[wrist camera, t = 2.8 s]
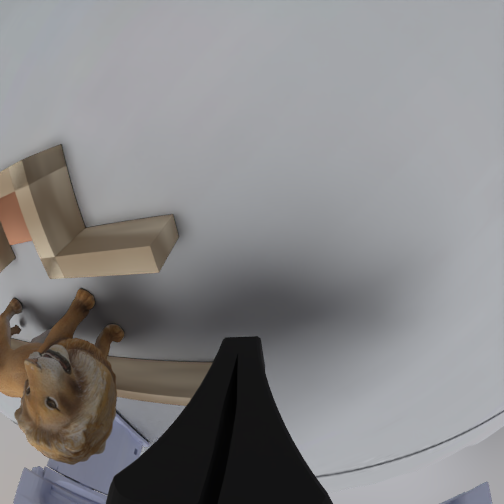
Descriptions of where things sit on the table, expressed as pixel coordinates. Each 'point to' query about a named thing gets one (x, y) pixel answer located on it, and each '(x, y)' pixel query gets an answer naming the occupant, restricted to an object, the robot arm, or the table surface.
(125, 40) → the table surface
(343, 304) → the table surface
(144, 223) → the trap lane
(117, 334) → the lion figurine
